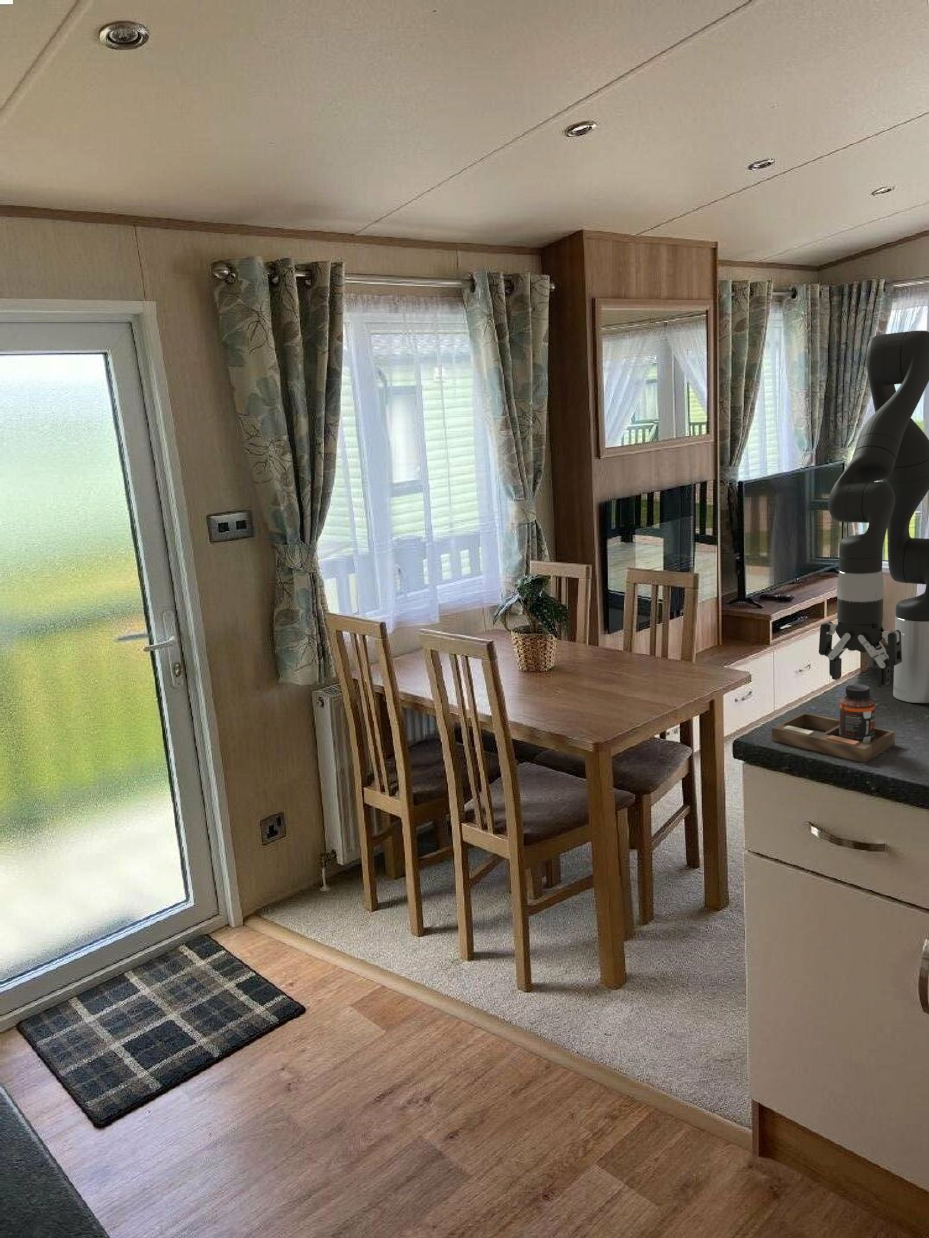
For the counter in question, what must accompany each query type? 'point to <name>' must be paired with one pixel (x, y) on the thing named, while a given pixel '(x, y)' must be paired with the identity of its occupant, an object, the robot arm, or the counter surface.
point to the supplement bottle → (857, 714)
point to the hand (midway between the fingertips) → (858, 682)
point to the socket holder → (830, 738)
